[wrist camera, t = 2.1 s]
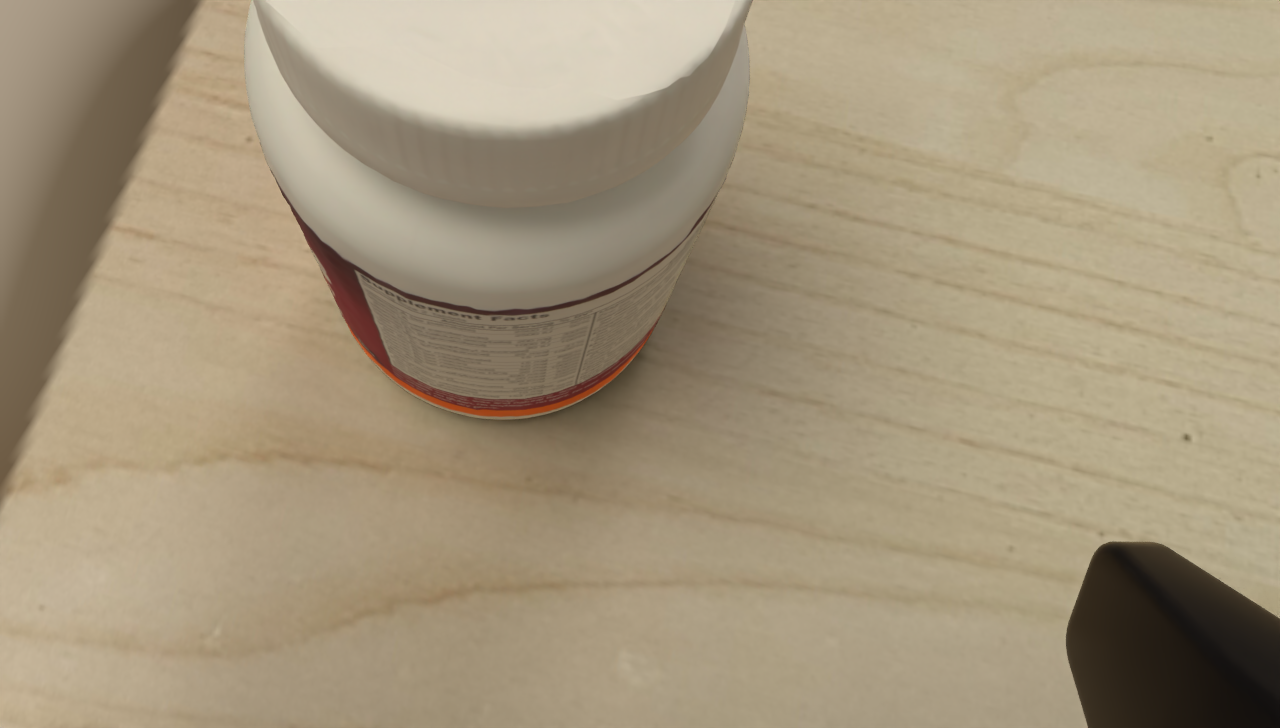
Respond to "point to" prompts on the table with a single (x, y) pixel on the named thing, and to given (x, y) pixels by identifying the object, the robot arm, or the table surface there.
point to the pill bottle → (499, 176)
